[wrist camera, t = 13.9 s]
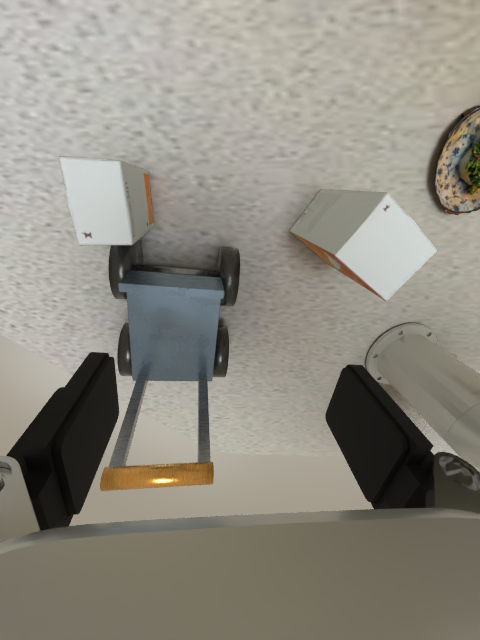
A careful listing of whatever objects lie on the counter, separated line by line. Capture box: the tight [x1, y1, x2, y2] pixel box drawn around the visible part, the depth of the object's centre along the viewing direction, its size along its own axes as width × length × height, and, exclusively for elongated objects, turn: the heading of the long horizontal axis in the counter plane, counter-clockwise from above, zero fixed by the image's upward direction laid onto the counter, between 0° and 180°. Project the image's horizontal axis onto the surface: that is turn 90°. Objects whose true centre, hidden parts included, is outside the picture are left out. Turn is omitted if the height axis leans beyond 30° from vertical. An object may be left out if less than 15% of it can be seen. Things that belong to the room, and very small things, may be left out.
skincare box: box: [59, 156, 154, 246], centre depth 24 cm, size 6×4×12 cm
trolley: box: [100, 240, 240, 491], centre depth 27 cm, size 13×18×21 cm
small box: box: [289, 189, 437, 301], centre depth 28 cm, size 8×6×13 cm
